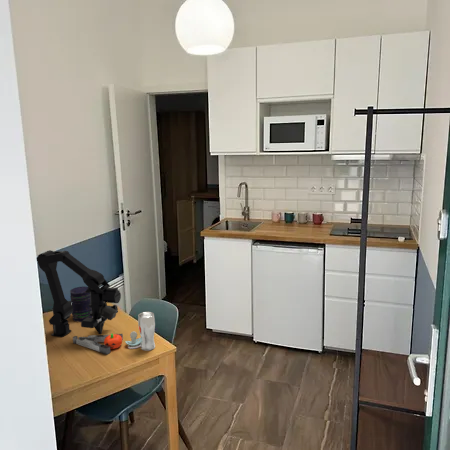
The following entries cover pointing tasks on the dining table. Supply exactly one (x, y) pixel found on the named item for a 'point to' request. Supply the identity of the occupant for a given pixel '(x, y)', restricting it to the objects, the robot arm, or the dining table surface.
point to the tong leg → (97, 337)
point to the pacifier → (133, 341)
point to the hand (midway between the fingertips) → (100, 333)
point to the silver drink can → (146, 330)
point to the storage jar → (80, 303)
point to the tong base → (92, 345)
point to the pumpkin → (113, 341)
